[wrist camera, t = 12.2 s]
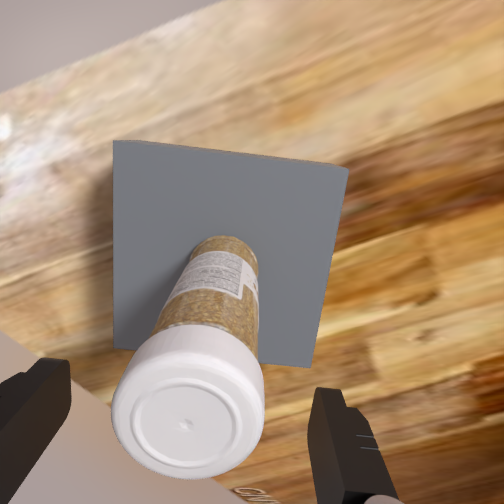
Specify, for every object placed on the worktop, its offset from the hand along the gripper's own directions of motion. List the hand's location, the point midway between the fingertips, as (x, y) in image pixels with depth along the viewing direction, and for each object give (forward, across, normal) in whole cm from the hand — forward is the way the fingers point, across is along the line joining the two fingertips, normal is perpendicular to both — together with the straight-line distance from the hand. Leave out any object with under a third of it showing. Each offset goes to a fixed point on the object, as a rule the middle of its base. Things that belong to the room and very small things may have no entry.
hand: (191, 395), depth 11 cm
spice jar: (+12, 0, 0) cm, 12 cm away
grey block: (+17, 0, 0) cm, 17 cm away
